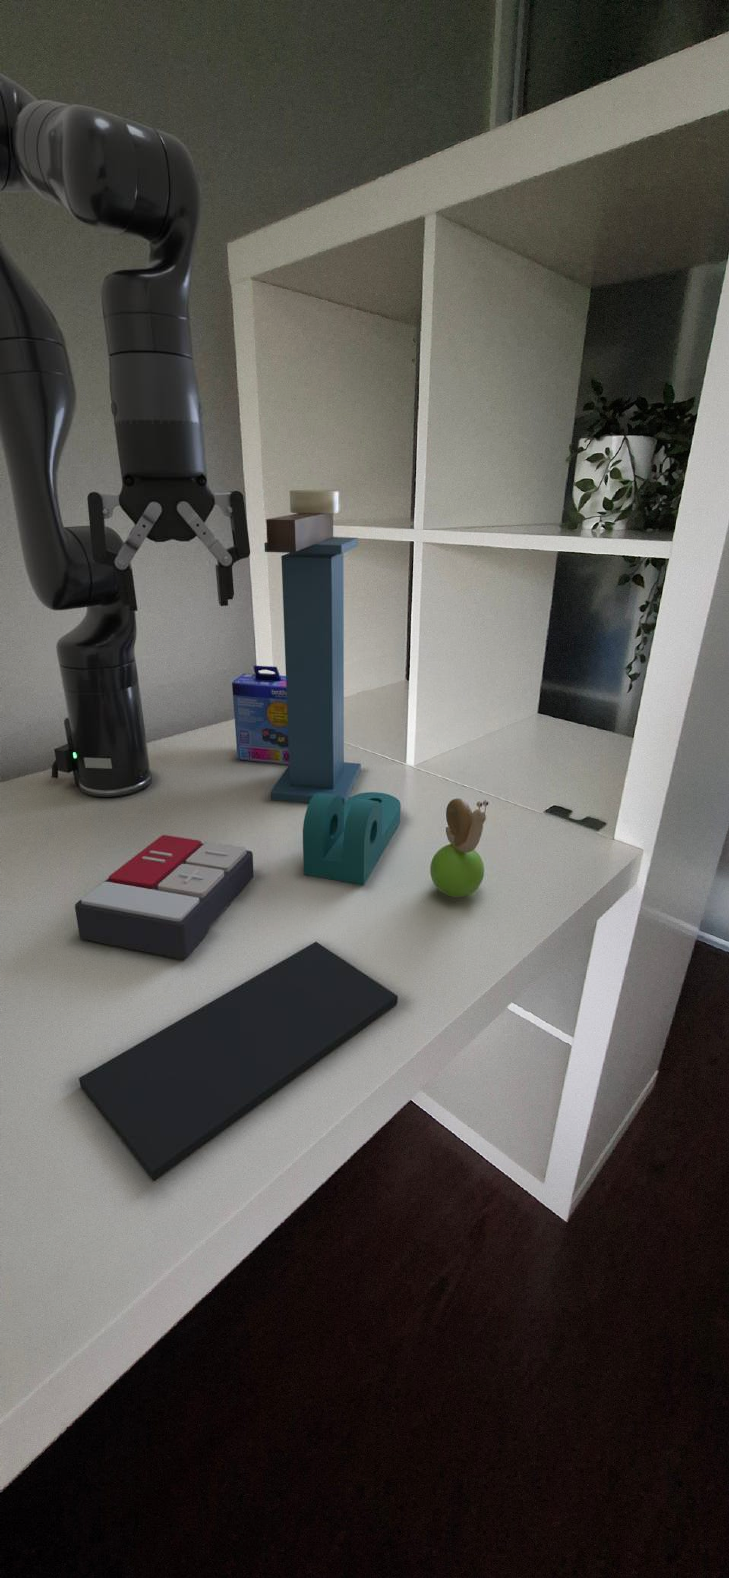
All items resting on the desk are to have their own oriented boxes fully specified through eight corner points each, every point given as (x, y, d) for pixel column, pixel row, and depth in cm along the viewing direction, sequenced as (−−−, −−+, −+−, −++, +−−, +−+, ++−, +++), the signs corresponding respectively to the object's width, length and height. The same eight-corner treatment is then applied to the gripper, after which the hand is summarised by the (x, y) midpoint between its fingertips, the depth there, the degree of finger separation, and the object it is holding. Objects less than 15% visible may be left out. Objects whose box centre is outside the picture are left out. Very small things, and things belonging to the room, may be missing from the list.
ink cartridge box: (235, 761, 103) (228, 665, 97) (248, 748, 108) (242, 656, 102) (298, 766, 101) (295, 670, 95) (309, 753, 106) (306, 660, 100)
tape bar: (310, 552, 69) (309, 494, 67) (253, 550, 70) (250, 492, 68) (345, 537, 85) (345, 490, 83) (298, 536, 86) (297, 489, 84)
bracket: (363, 885, 72) (364, 818, 69) (303, 874, 74) (301, 808, 71) (405, 812, 88) (408, 755, 84) (355, 804, 89) (355, 748, 86)
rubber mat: (153, 1181, 42) (152, 1172, 41) (80, 1086, 48) (78, 1077, 48) (397, 1003, 56) (398, 995, 56) (316, 948, 62) (315, 941, 62)
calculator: (253, 844, 72) (181, 918, 59) (255, 880, 74) (185, 960, 60) (160, 830, 75) (70, 897, 61) (164, 865, 76) (77, 938, 63)
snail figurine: (450, 918, 67) (458, 807, 62) (419, 884, 72) (425, 780, 67) (497, 905, 69) (509, 797, 64) (464, 874, 74) (472, 772, 69)
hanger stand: (344, 806, 89) (344, 545, 76) (270, 800, 91) (257, 543, 77) (360, 770, 100) (363, 537, 87) (294, 765, 101) (286, 535, 88)
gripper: (233, 424, 66) (246, 598, 72) (74, 421, 62) (103, 605, 68) (245, 417, 59) (258, 609, 66) (68, 413, 55) (100, 618, 62)
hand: (179, 607), depth 67 cm, fingers open, 8 cm apart
